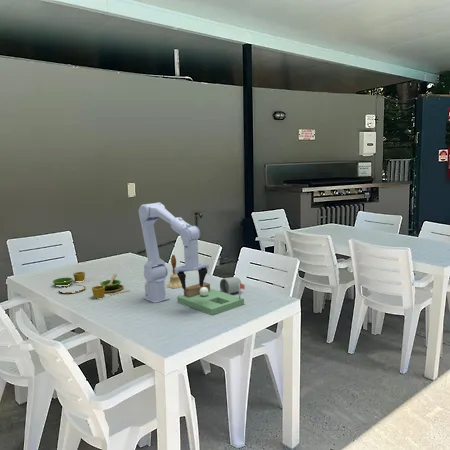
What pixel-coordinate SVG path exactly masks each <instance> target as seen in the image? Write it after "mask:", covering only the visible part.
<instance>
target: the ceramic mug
mask: <svg viewBox="0 0 450 450" xmlns="http://www.w3.org/2000/svg"><path fill="white" fill-rule="evenodd" d="M239 283H240V284H242V281H241V279H240V278H239V277H237V276H232V277H224V278H222V279H221V280H220V282H219V289H220V292H224V293H227V294H230V295H233V294H235V293H239ZM240 291H241V288H240Z"/></svg>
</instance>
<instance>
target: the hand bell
mask: <svg viewBox="0 0 450 450" xmlns="http://www.w3.org/2000/svg"><path fill="white" fill-rule="evenodd" d="M170 263H171V267H172V274H171V275H170V277H169V278H170V279H169V282H168V283H167V286H166V287H167V288H169V289H181V288H182V284H181V281H180V279H179V277H178V275H177V273H175V269H174V268H177V258H176V256H175V254H172V255H171V259H170Z"/></svg>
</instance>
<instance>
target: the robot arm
mask: <svg viewBox="0 0 450 450" xmlns="http://www.w3.org/2000/svg"><path fill="white" fill-rule="evenodd" d="M137 211H138V216H139V221H140V225H141V230H142V231H141V232H142V236H143V241H144V247H145V252H146V258H147V261H146V262H145V264H144V265H143V271H144V272H143V277H144V279H145V284H144V295H145V296H144V297H143V299H144V300H147V301H148V302H152V303H153V304H156V303H160V302H164V301H166V300H169V299H170V297H168V296H166V286H165V285H166V284H165V280H166V278H167V276H168V273H169V271H168V267H167V265H166V261H165V260H164V259H161V258H160V252H159V248H158V241H157V237H156V232H155V231H156V230H155V223H156V221H157V220H158V219H159V218H160V219H162V221H163V220H164V222H166V223H167V224H170V228H171V229H172V230H173V231H174V232H176V233H177V234H178V235H180V236H179V237H180V239H181V241H182V246H183V255H184V265H182V266H179V267H177V266H176V268H174V269H175V273H176V274H177V275H178V277H179V279H180V281H181V284H182V287H181V288H182V289H183V290H184V289H186V287H187V286H186V278H187V274H186V273H187V272H193V271H198V282H199V283H198V284H199V285H200V286H201V287H202V286H203V282H205V278H206V276H207V274H208V269H210V268H209V267H210V264H209V263H208V262H207V263H199V239H200V238H201V231H200V228H199V227H198V226H197V225H191V224H190V223H188V222H186V221H185V220H184V219H183V218H182V217H181V216H179V217H176V216H174V215H173V214H172V213H171V212H170V211H168V210H167V209H166V206H165V204H162V202H159V201H157V202H154V203H153V202H152V203H146V204H145V203H143V204H141V205H140V207H139V208H138V210H137Z"/></svg>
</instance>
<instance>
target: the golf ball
mask: <svg viewBox="0 0 450 450" xmlns="http://www.w3.org/2000/svg"><path fill="white" fill-rule="evenodd" d="M208 292H209V290H208V288H206V287H202V288H201V289H200V294H201V295H202V296H206V295H207V294H208Z"/></svg>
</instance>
